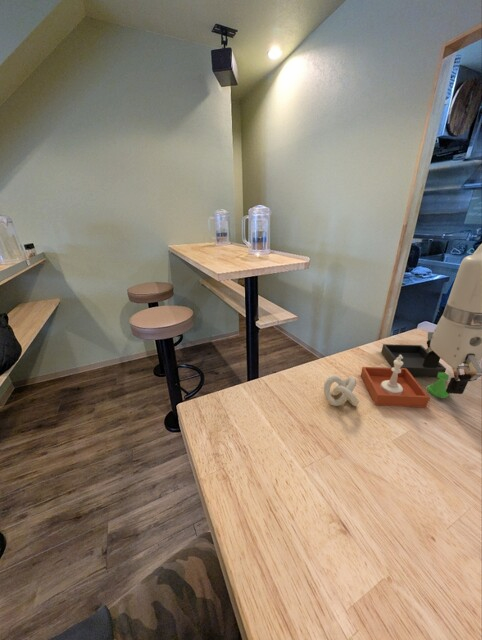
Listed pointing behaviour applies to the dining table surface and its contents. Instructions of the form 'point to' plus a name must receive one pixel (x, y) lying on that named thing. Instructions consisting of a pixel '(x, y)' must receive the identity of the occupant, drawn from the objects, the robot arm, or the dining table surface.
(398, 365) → the chess piece
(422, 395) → the terracotta bin
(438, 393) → the game piece
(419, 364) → the charcoal bin
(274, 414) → the dining table surface
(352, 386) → the knot
